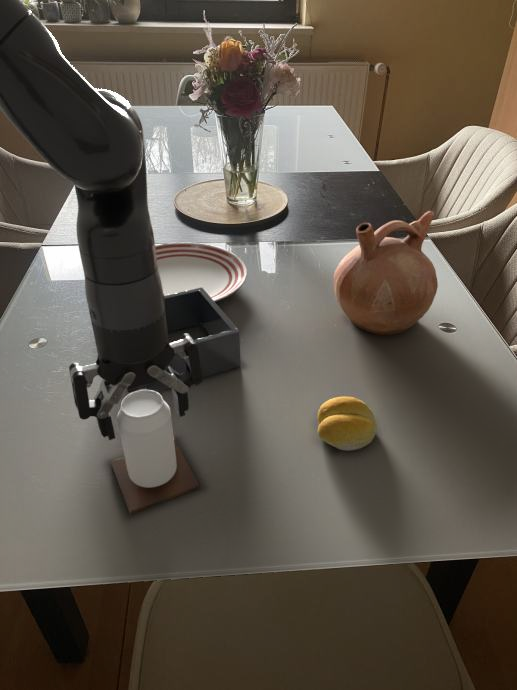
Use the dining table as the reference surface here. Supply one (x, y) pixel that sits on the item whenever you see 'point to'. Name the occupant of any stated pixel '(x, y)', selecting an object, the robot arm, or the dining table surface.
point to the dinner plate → (199, 269)
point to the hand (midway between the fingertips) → (145, 423)
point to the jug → (387, 277)
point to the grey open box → (214, 349)
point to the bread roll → (346, 423)
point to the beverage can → (147, 438)
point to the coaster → (148, 497)
